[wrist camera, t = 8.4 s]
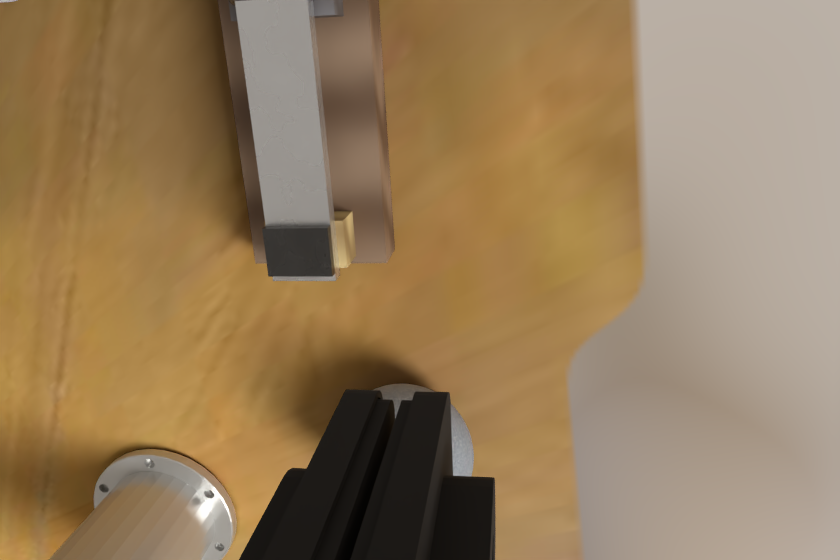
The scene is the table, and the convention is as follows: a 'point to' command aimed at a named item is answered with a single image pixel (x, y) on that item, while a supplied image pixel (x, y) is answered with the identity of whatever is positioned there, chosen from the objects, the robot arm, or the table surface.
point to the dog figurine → (7, 0)
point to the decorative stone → (460, 432)
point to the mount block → (333, 127)
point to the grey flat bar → (289, 137)
